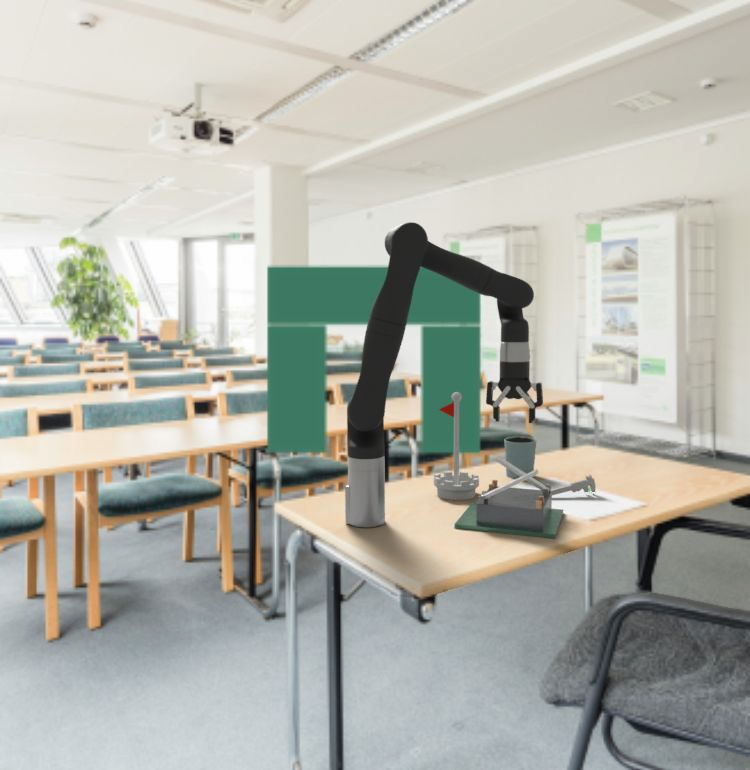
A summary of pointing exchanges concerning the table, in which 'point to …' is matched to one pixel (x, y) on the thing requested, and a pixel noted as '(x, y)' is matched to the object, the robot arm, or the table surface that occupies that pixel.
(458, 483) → the flag stand
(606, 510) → the table surface
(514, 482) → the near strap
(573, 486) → the caliper
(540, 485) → the far strap
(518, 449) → the blue-grey cup
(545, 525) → the base
